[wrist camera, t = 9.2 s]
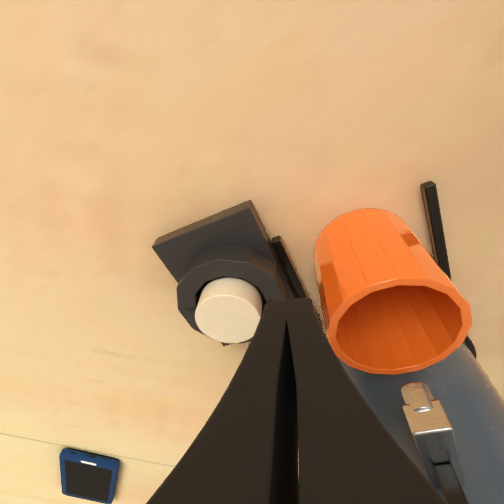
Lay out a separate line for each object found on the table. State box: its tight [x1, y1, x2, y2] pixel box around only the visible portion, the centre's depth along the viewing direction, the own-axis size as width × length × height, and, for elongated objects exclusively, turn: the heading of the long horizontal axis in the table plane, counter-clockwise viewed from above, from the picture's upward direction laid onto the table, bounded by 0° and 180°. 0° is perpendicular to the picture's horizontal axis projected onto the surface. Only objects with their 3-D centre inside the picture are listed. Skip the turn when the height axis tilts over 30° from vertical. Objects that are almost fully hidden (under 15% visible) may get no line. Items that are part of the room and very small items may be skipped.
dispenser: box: [272, 181, 504, 504], centre depth 16 cm, size 19×11×16 cm, turn 25°
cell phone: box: [60, 448, 119, 504], centre depth 41 cm, size 7×14×1 cm, turn 162°
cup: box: [314, 209, 472, 375], centre depth 17 cm, size 6×6×7 cm
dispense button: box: [195, 277, 262, 343], centre depth 19 cm, size 4×4×2 cm
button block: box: [152, 200, 299, 346], centre depth 21 cm, size 10×7×3 cm
